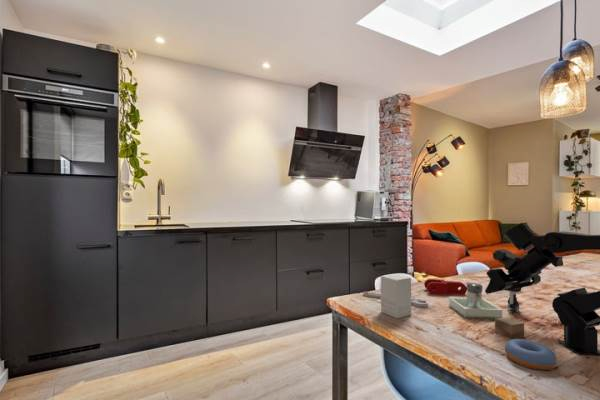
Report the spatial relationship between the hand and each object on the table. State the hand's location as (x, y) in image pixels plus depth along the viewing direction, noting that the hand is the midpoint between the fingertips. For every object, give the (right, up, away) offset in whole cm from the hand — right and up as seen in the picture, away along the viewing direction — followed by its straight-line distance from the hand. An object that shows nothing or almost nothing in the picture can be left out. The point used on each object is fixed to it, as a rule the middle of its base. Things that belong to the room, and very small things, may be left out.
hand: (495, 290), depth 99 cm
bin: (-3, -9, +7) cm, 12 cm away
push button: (+11, -10, +8) cm, 17 cm away
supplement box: (-31, -9, +5) cm, 33 cm away
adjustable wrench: (-27, -10, +20) cm, 35 cm away
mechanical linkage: (-2, -10, +30) cm, 32 cm away
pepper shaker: (-3, -9, +7) cm, 11 cm away
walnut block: (-3, -9, -11) cm, 15 cm away
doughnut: (-9, -9, -26) cm, 29 cm away
